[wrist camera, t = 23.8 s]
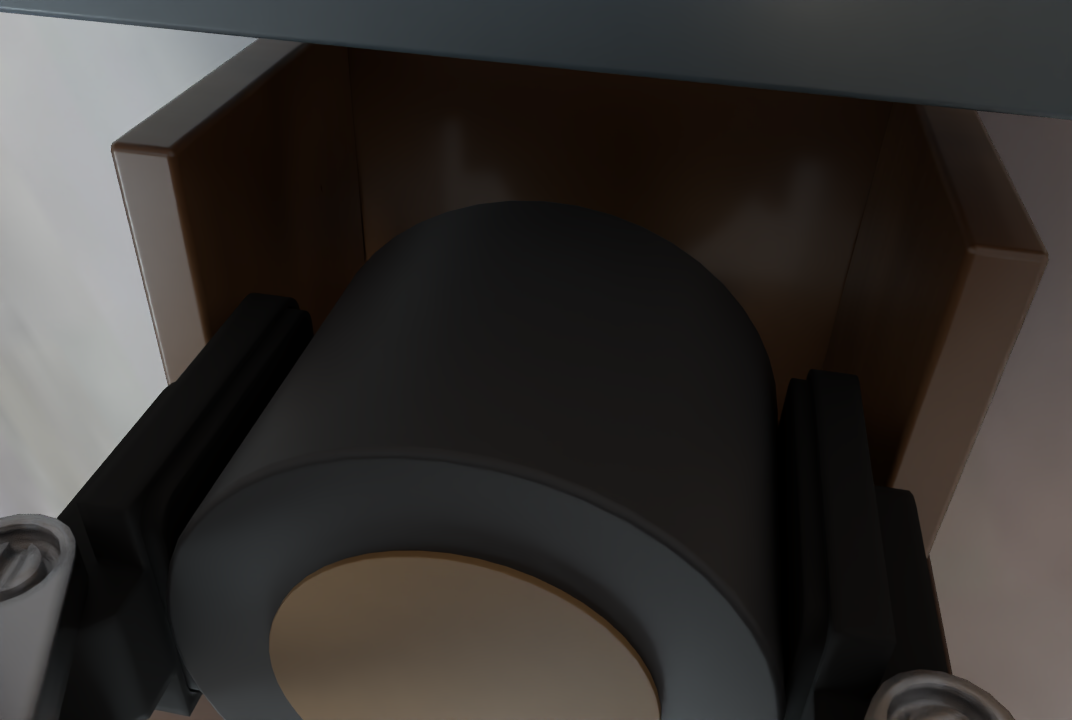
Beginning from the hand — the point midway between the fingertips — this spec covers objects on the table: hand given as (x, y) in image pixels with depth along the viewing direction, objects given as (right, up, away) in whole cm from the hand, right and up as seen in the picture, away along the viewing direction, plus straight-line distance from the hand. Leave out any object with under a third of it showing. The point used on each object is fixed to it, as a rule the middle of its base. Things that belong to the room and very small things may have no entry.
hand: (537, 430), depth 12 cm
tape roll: (0, 0, 0) cm, 1 cm away
